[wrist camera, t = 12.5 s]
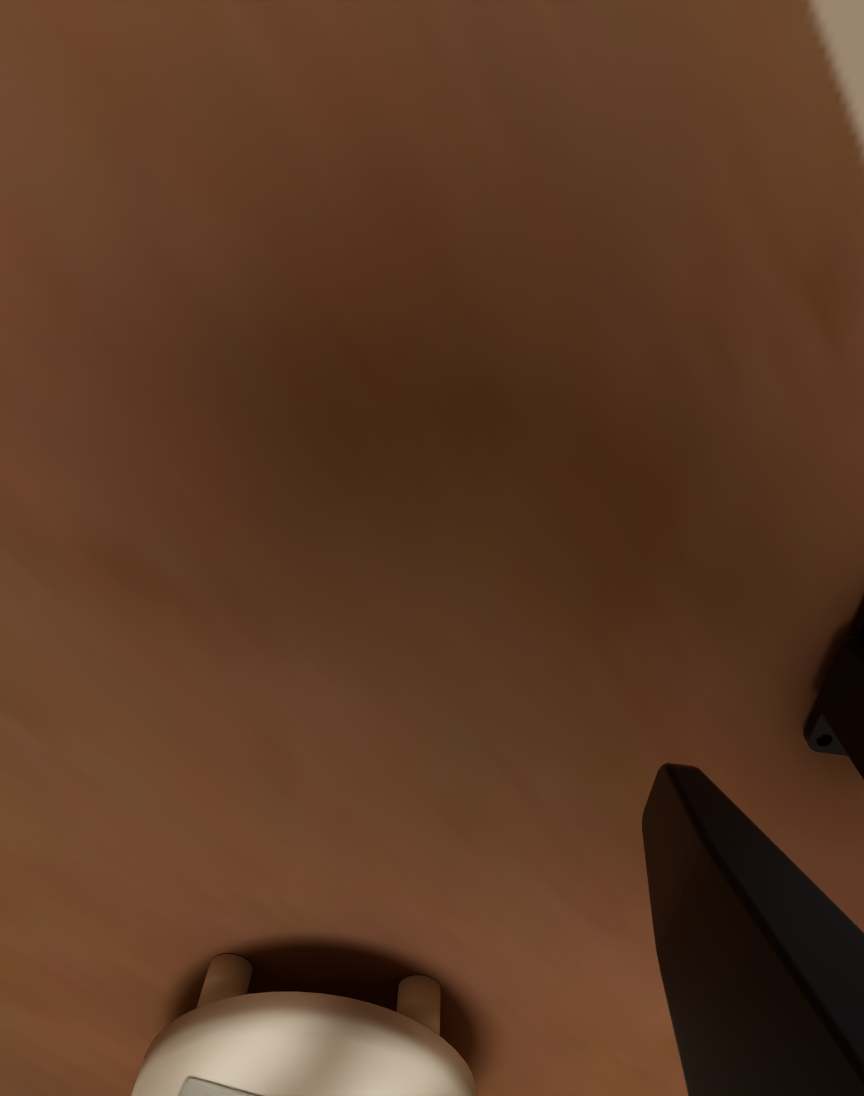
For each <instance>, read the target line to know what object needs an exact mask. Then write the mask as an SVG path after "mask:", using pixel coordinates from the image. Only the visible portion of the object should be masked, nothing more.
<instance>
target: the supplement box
mask: <svg viewBox="0 0 864 1096" xmlns="http://www.w3.org/2000/svg"><path fill="white" fill-rule="evenodd" d="M178 1096H254V1095H250V1094H247V1093H243V1092H240V1091H236V1090H232V1089H229V1088H225V1087H222V1086H219V1085H216V1084H213V1083H209V1082H205V1081H201V1080H197V1079H188V1080H187V1081H186V1082H184V1084H183V1085H182V1088H181V1090H180V1092H179V1094H178Z"/></svg>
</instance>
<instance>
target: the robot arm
mask: <svg viewBox="0 0 864 1096" xmlns="http://www.w3.org/2000/svg"><path fill="white" fill-rule="evenodd" d="M824 734H826V735H825V736H823V737H821V738H818V737H819V736H821V735H824ZM804 737H805V740H806V741H807V743H808V745H809V747H810V748H811V749H813V750H814V751H817V752H823V753H831V754H839V755H848V756H849V757H850V759H851V760H852V762H853V764H854V765H855V767H856V768H857V770H858V771H859V773H860V775H861V776H862V778H863V779H864V603H863V606H862V608H861V610H860V612H859V614H858V616H857V619H856V621H855V623H854V625H853V627H852V629H851V631H850V634H849V636H848V638H847V639H846V640H845V641H844V642H843V644H842V646H841V649H840V651H839V653H838V655H837V657H836V659H835V662H834V664H833V666H832V668H831V670H830V672H829V674H828V677H827V679H826V681H825V683H824V685H823V687H822V690H821V692H820V694H819V696H818V698H817V700H816V706H815V709H814V711H813V713H812V715H811V717H810V719H809V721H808V724H807V726H806V728H805V730H804ZM642 833H643V841H644V850H645V859H646V868H647V876H648V885H649V894H650V903H651V911H652V920H653V929H654V937H655V944H656V951H657V957H658V962H659V967H660V972H661V976H662V981H663V985H664V990H665V994H666V999H667V1003H668V1007H669V1012H670V1016H671V1021H672V1025H673V1029H674V1034H675V1038H676V1043H677V1047H678V1052H679V1056H680V1060H681V1065H682V1069H683V1074H684V1078H685V1082H686V1087H687V1091H688V1096H864V933H863V932H862V931H861V930H860V929H859V928H858V927H857V926H856V925H855V924H854V923H853V922H852V921H851V920H850V919H849V918H848V917H847V916H846V915H845V914H844V913H843V912H842V911H841V910H840V909H839V908H838V907H837V906H836V905H835V904H834V903H833V902H832V901H831V900H830V899H829V898H828V897H827V896H826V895H825V894H824V893H823V892H822V891H821V890H820V889H819V888H818V887H817V886H816V885H815V884H814V883H813V882H812V881H811V880H810V879H809V878H808V877H807V876H806V875H805V874H804V873H803V872H802V871H801V870H800V869H799V868H798V867H797V866H796V865H795V864H794V863H793V862H792V861H791V860H790V859H789V858H788V857H787V856H786V855H785V854H784V853H783V852H782V851H781V850H780V849H779V848H778V847H777V846H776V845H775V844H774V843H773V842H772V841H771V840H770V839H769V838H768V837H767V836H766V835H765V834H764V833H763V832H762V831H761V830H760V829H759V828H758V827H757V826H756V825H755V824H754V823H753V822H752V821H751V820H750V819H749V818H748V817H747V816H746V815H745V814H744V813H743V812H742V811H741V810H740V809H739V808H738V807H737V806H736V805H735V804H734V803H733V802H732V801H731V800H730V799H729V798H728V797H727V796H726V795H725V794H724V793H723V792H722V791H721V790H720V789H719V788H718V787H717V786H716V785H715V784H714V783H713V782H712V781H711V780H710V779H709V778H708V777H707V776H706V775H705V774H704V773H703V772H702V771H701V770H699V769H698V768H696V767H694V766H688V765H680V764H672V763H666V764H664V765H662V766H661V767H660V769H659V770H658V772H657V775H656V778H655V781H654V783H653V786H652V789H651V792H650V795H649V797H648V800H647V803H646V806H645V809H644V812H643V818H642Z"/></svg>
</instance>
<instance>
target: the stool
mask: <svg viewBox="0 0 864 1096" xmlns="http://www.w3.org/2000/svg"><path fill="white" fill-rule="evenodd" d="M252 970H253V969H252V966H251V964H250V963H249V961H247V960H246V959H245V958H243V957H241V956H238V955H234V954H222V955H218V956H216V957H214V958H213V959H212V960H211V962H210V965H209V968H208V972H207V975H206V978H205V982H204V985H203V988H202V991H201V995H200V998H199V1001H198V1005H197V1008H196V1009H194V1010H191V1011H189V1012H187V1013H186V1014H184V1015H182V1016H180V1017H179V1018H177V1019H175V1020H174V1021H173V1022H171V1023H170V1024H169V1025H168V1026H166V1027H165V1028H164V1029H163V1030H162V1031H161V1032H160V1033H159V1034H158V1035H157V1036H156V1038H155V1039H154V1040H153V1041H152V1043H151V1045H150V1047H149V1048H148V1050H147V1052H146V1055H145V1058H144V1060H143V1063H142V1066H141V1069H140V1072H139V1075H138V1078H137V1081H136V1084H135V1086H134V1089H133V1092H132V1096H178V1094H179V1092H180V1090H181V1088H182V1085H183V1084H184V1082H186V1081H187V1080H188V1079H197V1080H201V1081H205V1082H209V1083H213V1084H216V1085H219V1086H222V1087H225V1088H229V1089H232V1090H236V1091H240V1092H243V1093H247V1094H250V1095H254V1096H477V1086H476V1083H475V1080H474V1077H473V1074H472V1072H471V1071H470V1069H469V1067H468V1065H467V1063H466V1062H465V1061H464V1059H463V1058H462V1057H461V1056H460V1055H459V1053H458V1052H457V1051H456V1050H455V1049H454V1048H453V1047H452V1046H451V1045H450V1044H449V1043H447V1042H446V1041H445V1040H444V1039H443V1038H442V1037H440V997H441V988H440V985H439V983H438V982H437V981H436V980H434V979H432V978H430V977H427V976H422V975H415V976H410V977H407V978H405V979H403V980H402V981H401V982H400V983H399V986H398V999H397V1012H395V1011H392V1010H390V1009H387V1008H384V1007H381V1006H378V1005H375V1004H372V1003H368V1002H364V1001H360V1000H356V999H352V998H347V997H342V996H336V995H329V994H322V993H310V992H264V993H254V994H247V991H248V987H249V983H250V979H251V975H252Z"/></svg>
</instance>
